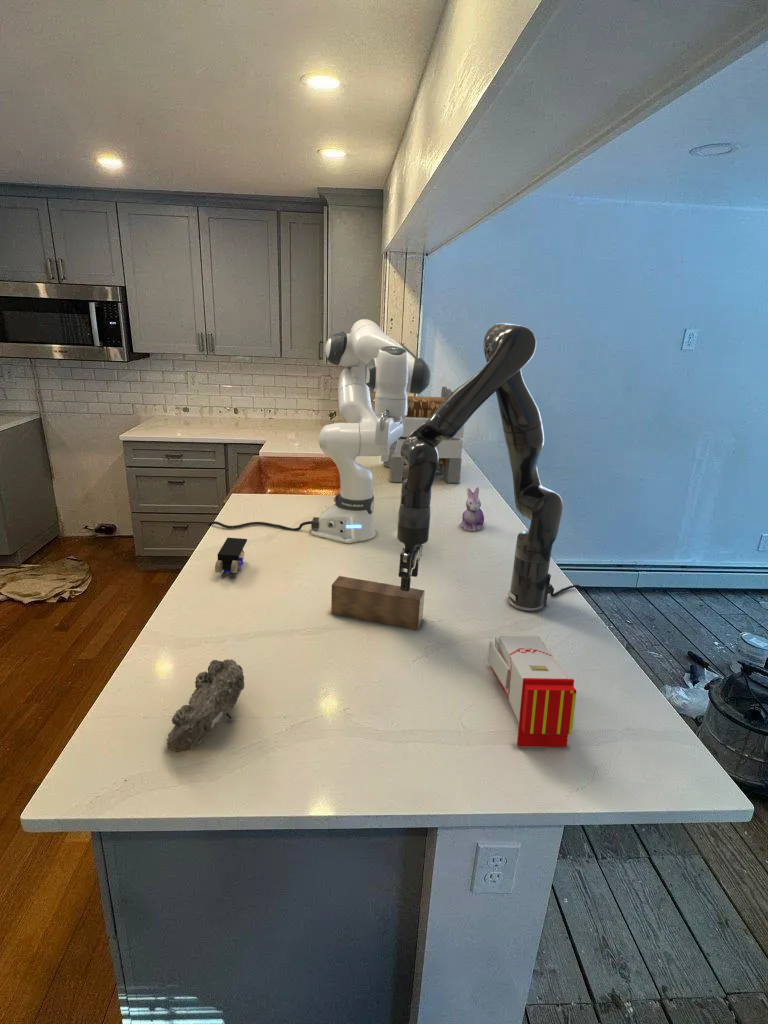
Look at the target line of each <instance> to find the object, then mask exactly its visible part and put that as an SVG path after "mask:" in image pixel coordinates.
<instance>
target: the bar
mask: <svg viewBox="0 0 768 1024" xmlns="http://www.w3.org/2000/svg"><path fill="white" fill-rule="evenodd" d="M400 588H401V585H395V584H389V583H383V582H377V581H371V580H366V579H360V578H353V577H348V576H342V575H338V577H336V579H335V580H334V581H333V582H332V584H331V598H330V599H331V601H330V604H331V606H330V607H331V610H330V613H331V614H332V615H337V616H342V617H348V618H354V619H359V620H363V621H368V622H370V621H371V622H375V623H380V624H386V625H391V626H395V627H401V628H407V629H412V630H419V628H420V626H421V623H422V621H423V618H424V604H425V589H420V588H419V589H418V588H413V587H410V590H409V591H402V590H401V589H400Z"/></svg>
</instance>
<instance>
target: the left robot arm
mask: <svg viewBox="0 0 768 1024" xmlns="http://www.w3.org/2000/svg"><path fill="white" fill-rule="evenodd" d="M324 350H325V355H326V360H327V361H328V363H330V364H332V365H335V366H342V367H346V368H344V369H343V370H342V371H341V372H340V374H339V378H338V385H337V397H338V412H339V415H340V416H341V418H342V419H343V420H344V421H345V422H335V423H330V424H329V423H328V424H325V425H323V427H322V428H321V429H320V432H319V435H318V445H319V447H320V449H321V451H322V452H323V453H324V454H325V455H326V456H328V457H329V458H330V459H331V460H332V462H334V464H335V466H336V467H337V470H338V474H339V483H340V484H339V485H340V488H339V489H340V490H339V491H338V492H337V494H336V495H335V496H334V497H333V502H334V504H333V505H331V506H329V507H328V508H326V509H325V510H323V512H321V514H320V515H319V516H318V517H317V516H313V518H312V520H308V521H304V522H303V521H302V522H301V523H300V524H299V525H298V526H297V527H288V526H284V525H282V524H277V523H271V522H265V521H249V522H245V523H241V524H235V525H227V524H225V523H222V522H220V521H216V520H214V521H210V522H209V523H208V524H207V526H208V527H212V526H213V525H218V526H220V527H222V528H225V529H230V530H231V529H239V528H243V527H249V526H256V525H260V526H268V527H273V528H278V529H282V530H286V531H291V532H292V531H293V532H297V531H301V529H302V528H303V527H304V526H306V525H310V526H311V530H310V533H311V536H315V537H319V538H323V539H326V540H330V541H336V542H339V543H343V544H352V543H357V542H365V541H368V540H372V539H373V538H375V537H376V535H377V532H376V528H375V523H374V513H373V512H374V509H375V496H374V474H373V472H372V471H371V469H369V468H368V467H366V466H364V465H362V464H360V463H359V462H357V461H356V459H357V457H380V461H381V462H383V463H384V462H387V461H388V460H389V455H388V454H392V455H394V454H396V448H397V444H398V439H399V438H400V437H401V436H402V435H403V432H404V425H405V417H406V415H407V411H408V404H407V398H408V397H407V396H408V394H409V393H410V394H414V395H421V393H422V392H424V391H425V390H426V389H427V388H429V385H430V382H431V369H430V366H429V364H428V363H427V362H426V360H425V359H423V357H417V356H416V355H415V354H414V353H413V352H412V351H411V350H410V349H409V348H407V346H405V345H404V344H402V343H401V342H399V341H397V340H395V339H394V338H391V336H389V335H388V334H386V333H385V332H384V331H383V330H382V328H381V327H380V326H379V325H378V324H377V323H376V322H375V321H373V320H370V319H367V318H361V319H359V320H357V321H356V322H354V323H353V325H352V327H351V329H350V332H349V333H346V332H344V330H342V331H340V332H336V333H333V334H332V335H330V336H329V337H328V339H327V341H326V344H325V349H324ZM370 390H371V391H373V392H375V395H374V409H373V405H372V400H371V392H370Z"/></svg>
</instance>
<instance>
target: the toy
mask: <svg viewBox="0 0 768 1024" xmlns="http://www.w3.org/2000/svg"><path fill="white" fill-rule="evenodd" d="M488 643H489V644H488V651H487V658H486V659H487V662H488V664H489V666H490V668H491V669H492V672H493V674H494V675H495V677H496V679H497V681H498V682H499V684H500V687H501V688H502V691H503V692H504V694H505V697H507V699H508V702H509V705H510V706H511V709H512V710H513V713H514V714H515V717H516V720H517V721H518V728H517V729H518V730H517V741H516V746H517V747H520V748H521V747H522V748H523V747H525V748H527V747H529V748H531V747H532V748H533V747H534V748H545V747H546V748H567V747H568V740H569V735H572V733H573V725H574V716H575V708H576V700H577V689H576V687H575V686H574V685H575V679H574V678H569V677H568V676H567V675H566V673H565V672H564V670H563V669H562V668H561V667H560V665H559V663H558V662H557V661H556V659H555V658H554V656H553V654H552V653H551V652H550V650H549V649H548V648H547V646H546V644H545V642H544V641H543V640H542V639H541V638H540V636H534V635H533V636H532V635H530V636H527V635H526V636H525V635H524V636H523V635H498V637H497V636H496V637H494V643H493V641H489V642H488Z"/></svg>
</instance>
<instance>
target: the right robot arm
mask: <svg viewBox="0 0 768 1024" xmlns="http://www.w3.org/2000/svg"><path fill="white" fill-rule="evenodd" d="M482 346H483V353H484V357H485V361H486V364H485V365H484V366H483V367H482V368H481V369H480V370H479V371H478V372H477V373H476V374H475V375H474V376H472V377H471V378H469V379H468V380H467V381H465V382H464V383H463V384H461V385H460V386H459V387H457V388H456V389H454V390H452V393H451V394H450V395H449V396H448V397H447V398H446V399H445V400H444V401H443V402H442V404H441V405H440V406H439V407H438V408H437V410H436V411H435V412H434V413H433V414H432V416H431V417H430V418H429V419H428V420H427V421H426V422H424V423H423V424H422V425H420V426H419V427H418V428H417V429H416V430H415V431H413V432H412V433H411V434H410V435H409V436H408V437H407V438H406V440H405V441H404V443H403V444H402V447H401V451H400V454H401V458H402V460H403V461H404V462H405V463H406V464H407V465H409V466H408V473H407V478H406V479H404V480H402V483H401V489H400V492H401V493H400V504H399V508H398V519H397V530H396V531H397V532H396V533H397V534H396V539H397V540H398V541H399V542H400V543H402V544H403V545H404V547H402V549H401V552H400V554H399V567H398V568H399V569H398V574H397V575H398V578H400V586H401V588H400V589H401V590H402V591H409V590H410V588H411V581H412V580H411V579H412V577H413V578H417V577H418V575H419V564H420V561H421V558H422V557H423V545H425V544H427V543H428V542H429V538H430V537H429V536H430V523H431V499H432V488H433V485H434V482H435V478H436V475H437V472H438V462H439V457H438V452H437V449H436V448H435V447H436V446H437V445H438V444H440V443H441V442H442V441H448V440H450V439H452V438H453V437H454V436H455V435H456V434H457V432H458V431H459V430H460V429H461V428H462V427H463V425H464V426H465V424H466V423H467V422H468V421H469V420H470V418H471V417H472V416H473V415H474V414H475V412H477V411H478V409H479V408H480V407H481V406H483V404H485V402H486V401H487V400H488V399H489V398H490V397H491V396H492V395H493V394H496V400H497V406H498V409H499V414H500V420H501V424H502V431H503V436H504V440H505V441H504V442H505V445H506V448H507V453H508V458H509V464H510V468H511V474H512V482H513V483H512V485H513V497H514V504H515V509H516V510H517V512H518V514H520V515H521V516H522V517H523V518H524V519H527V520H528V521H530V524H529V529H526V530H522V531H519V533H518V534H517V536H516V541H515V543H516V544H515V551H514V552H515V553H514V559H513V566H512V574H511V580H510V587H509V590H508V593H507V595H508V600H507V601H508V603H509V604H510V606H512V607H513V608H514V609H516V610H520V611H523V612H538V611H540V610H542V609H543V608H544V607H547V603H548V597H549V595H550V597H556V596H558V595H560V594H561V593H563V592H566V591H568V590H571V589H574V588H578V589H580V590H584V588H583V586H581V585H580V584H572V585H573V586H572V585H569V586H566V587H564V588H561V589H560V590H558V591H555V588H554V587H553V584H551V578H552V574H551V573H550V572H549V570H550V563H551V556H552V550H553V544H554V543H555V541H556V540H557V537H558V534H559V529H560V525H561V519H562V514H563V509H564V508H563V507H564V505H563V499H562V497H561V496H560V494H559V493H557V492H555V491H553V490H551V489H549V488H547V487H545V486H543V485H542V482H541V480H540V476H539V475H540V474H539V471H538V461H539V458H540V456H541V453H542V451H543V449H544V445H545V433H544V426H543V421H542V416H541V413H540V410H539V407H538V405H537V404H536V401H535V400H534V397H533V395H532V394H531V393H530V391H529V389H528V387H527V385H526V383H525V380H524V377H523V374H522V369H523V368H524V367H525V366H526V365H527V364H528V363H529V362H530V361H531V359H532V358H533V357H534V355H535V352H536V349H537V338H536V335H535V333H534V332H533V331H532V330H531V329H530V328H529V327H527V326H524V325H520V324H514V323H505V322H504V323H503V322H501V323H500V322H499V323H495V324H493V325H492V326H491V327H489V328H488V330H487V331H486V333H485V335H484V338H483V344H482ZM407 465H406V466H407ZM405 570H406V571H405Z"/></svg>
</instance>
